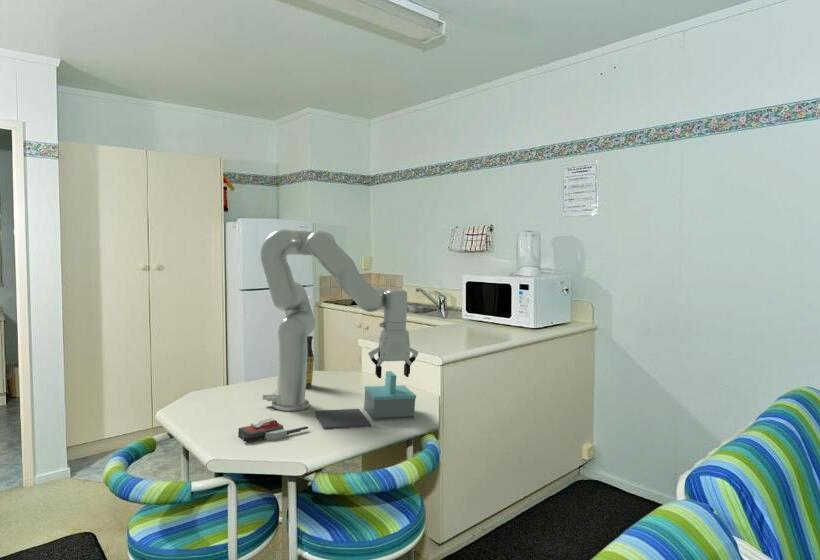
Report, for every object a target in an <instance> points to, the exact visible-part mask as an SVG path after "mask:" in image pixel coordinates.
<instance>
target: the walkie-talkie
mask: <svg viewBox="0 0 820 560" xmlns="http://www.w3.org/2000/svg"><path fill="white" fill-rule="evenodd" d="M308 429H309V427H308V426H307V425H306V426H303V427H298V428H293V429H285V427H284V425H282V424H281V423H279V422H278V421H277V420H276V419H274V418H271V417H270V418H268V419H262V420H260V421H258V423H256V424H255V423H254V422H253V423H250V425H247V426H243V427H239V428H238V432H237V433H238V434H237V436H238V438H239V439H241V440H242V441H243V442H246V443H253V442H259V441H262V440H267V441H276V440H280V439H283V438H285V439H286V438H287V436H288V435H290V434H294V433H298V432H301V431H304V430H308Z"/></svg>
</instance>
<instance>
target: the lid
mask: <svg viewBox="0 0 820 560" xmlns="http://www.w3.org/2000/svg"><path fill="white" fill-rule="evenodd" d="M384 381H385V382H384V385H372V386H371V385H370V386H369V385H368V386H364V391H365V390H366V392H367V393H368V394H369V395H370V396H371V397H372V398H373V399H374V400H389V399H415V400H416V399H417V395H416V394H415V393H414V392H412V390H410V388H408V387H407V386H406V385H397V375H396V373H394V372H393V371H391V370H385V380H384Z"/></svg>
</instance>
